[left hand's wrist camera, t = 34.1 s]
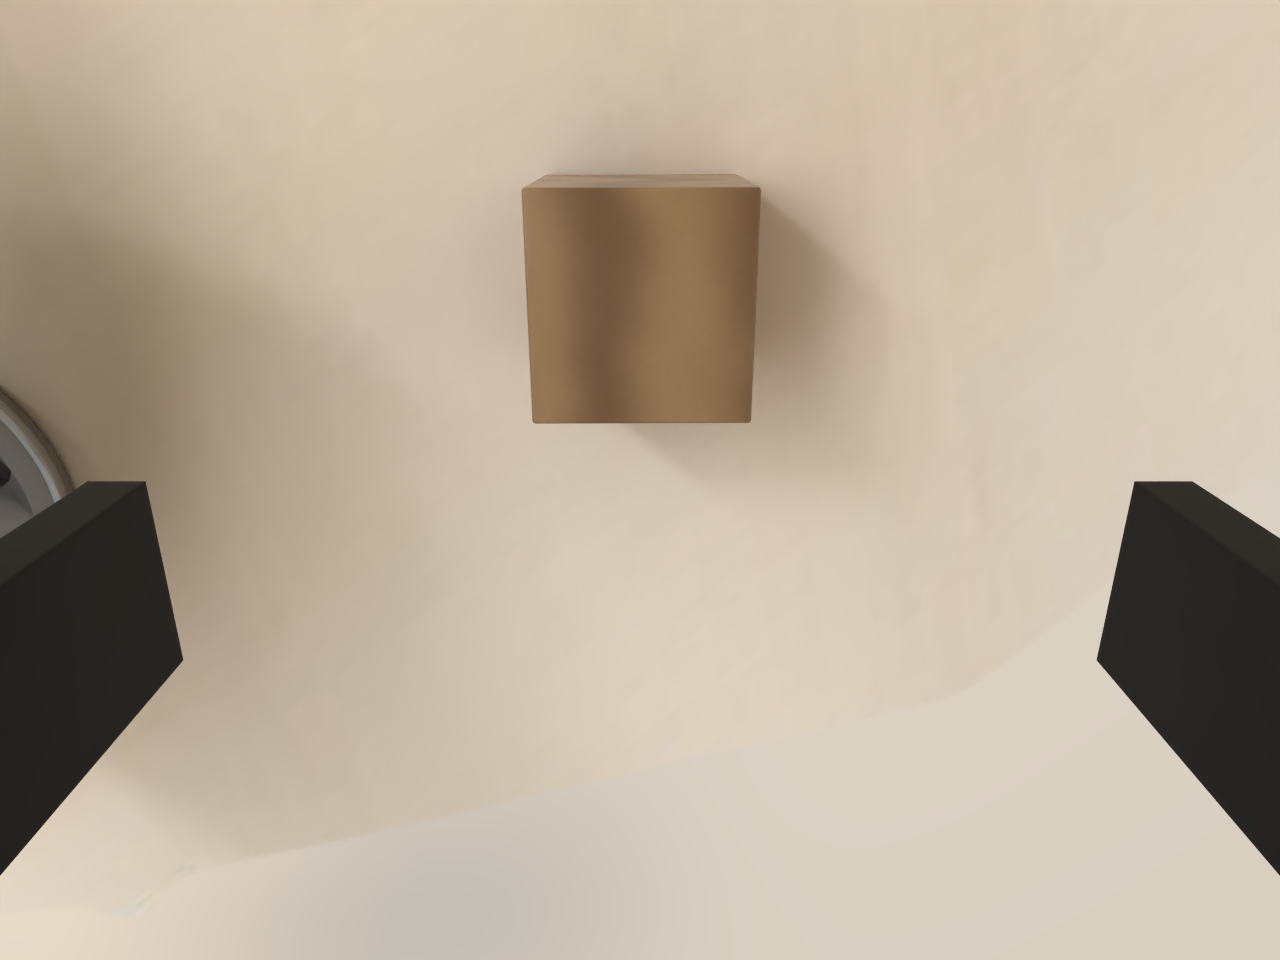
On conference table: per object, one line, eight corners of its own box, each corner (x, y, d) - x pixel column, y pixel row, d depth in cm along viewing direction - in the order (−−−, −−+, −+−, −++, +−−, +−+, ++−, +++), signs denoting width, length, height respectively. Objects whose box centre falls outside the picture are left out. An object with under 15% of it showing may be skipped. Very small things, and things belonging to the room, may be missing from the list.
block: (737, 174, 36) (761, 187, 29) (730, 368, 39) (751, 423, 32) (543, 175, 36) (521, 187, 29) (551, 369, 39) (532, 424, 32)
